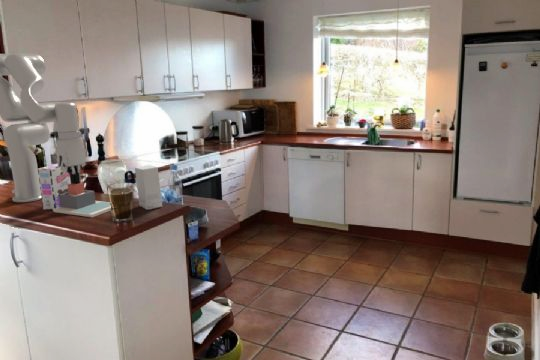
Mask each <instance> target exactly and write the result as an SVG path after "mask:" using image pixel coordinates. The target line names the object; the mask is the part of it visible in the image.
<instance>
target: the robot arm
mask: <svg viewBox="0 0 540 360" xmlns="http://www.w3.org/2000/svg"><path fill="white" fill-rule="evenodd" d="M46 67H47V66H46V62H45V60H44V59H43V57H42V56H41V55H39V54H37V53H31V52H30V53H28V52H27V53H24V52H18V53H17V52H15V53H0V119H1V120H2V121H4V122H5V123H6V122H7V123H14V124H11V125H8V126H6V127H5V128H4V130H3V133H2V134H3V139H4V140H3V141H4V143H5V145H6V148H7V152H8V156H9V160H10V167H11V173H12V180H13V184H14V188H13V189H12V190H11V193H12V194H14V196H12V202H15V203H28V202H35V201H39V200H42V197H41V190H40V182H39V175H38V162H37V157H36V154H35V153H34V152H33V151H32V149H31V148H30V147H31V146H37V145H43V144H46V143H48V142H49V140H50V136H51V135H50V129H49V126H48V123H56V129H57V136H58V140H57V141H56V149H55V150H56V153H55V154H56V161H57V162H56V164H58V166H60V167H61V171H67V172H68V174H70V181H71V184H79V183H80V182H81V180H80V173H81V170H82V168H84V167H85V166H86V162H87V156H86V149H85V146H84V145H85V144H84V141H83V139H82V137H81V135H82V132H81V131H80V126H79V118H78V117H79V116H78V110H77V105H76V104H75V103H74V102H70V101H69V102H67V101H66V102H65V101H64V102H63V101H46V102H38V101H37V100H36V99H34V97H33V96H34V95H36V94H37V93H39V92H40V91H41V90H43V88H44V86H45V80H44V79H43V77H42V76H41V75H43V74H45V71H46ZM3 76H11V77H12V78H13V79H14V81H16V83H17V85H18V86H19V87H20V88H21V91H20V97H19V96H18V95H17V93H16V90H15V87H14V86H13V85H12V84H11V82H9V81H8V80H7V79H6V78H4V77H3ZM25 121H26V122H25ZM17 122H23V123H17ZM24 122H25V123H24Z"/></svg>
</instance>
